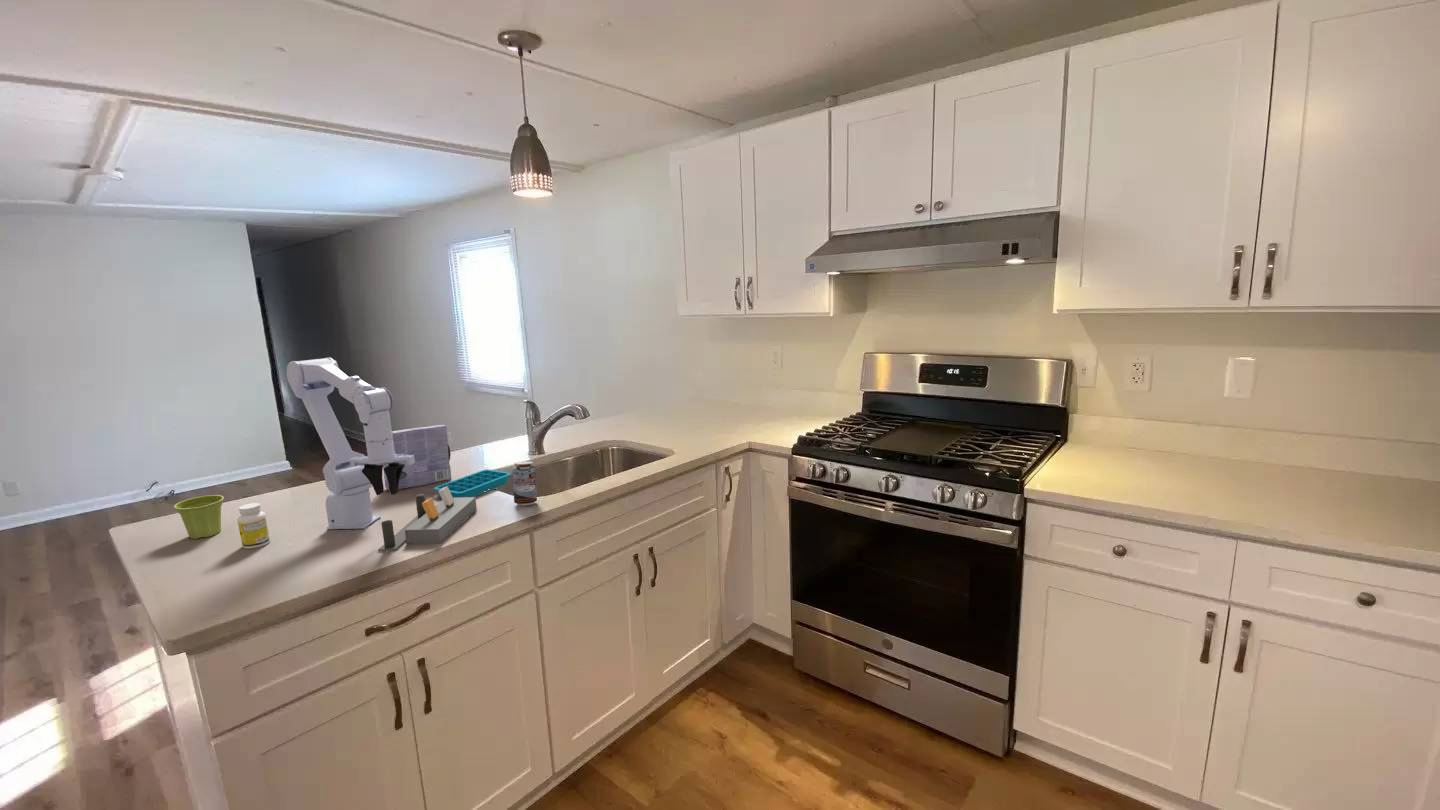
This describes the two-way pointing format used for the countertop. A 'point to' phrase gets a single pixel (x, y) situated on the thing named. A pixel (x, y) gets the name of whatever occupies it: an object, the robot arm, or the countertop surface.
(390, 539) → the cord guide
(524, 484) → the beverage can
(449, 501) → the paddle
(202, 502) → the plant pot
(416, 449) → the cake pan box
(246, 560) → the countertop surface
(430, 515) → the block
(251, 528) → the supplement bottle
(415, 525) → the box
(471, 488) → the ice cube tray
